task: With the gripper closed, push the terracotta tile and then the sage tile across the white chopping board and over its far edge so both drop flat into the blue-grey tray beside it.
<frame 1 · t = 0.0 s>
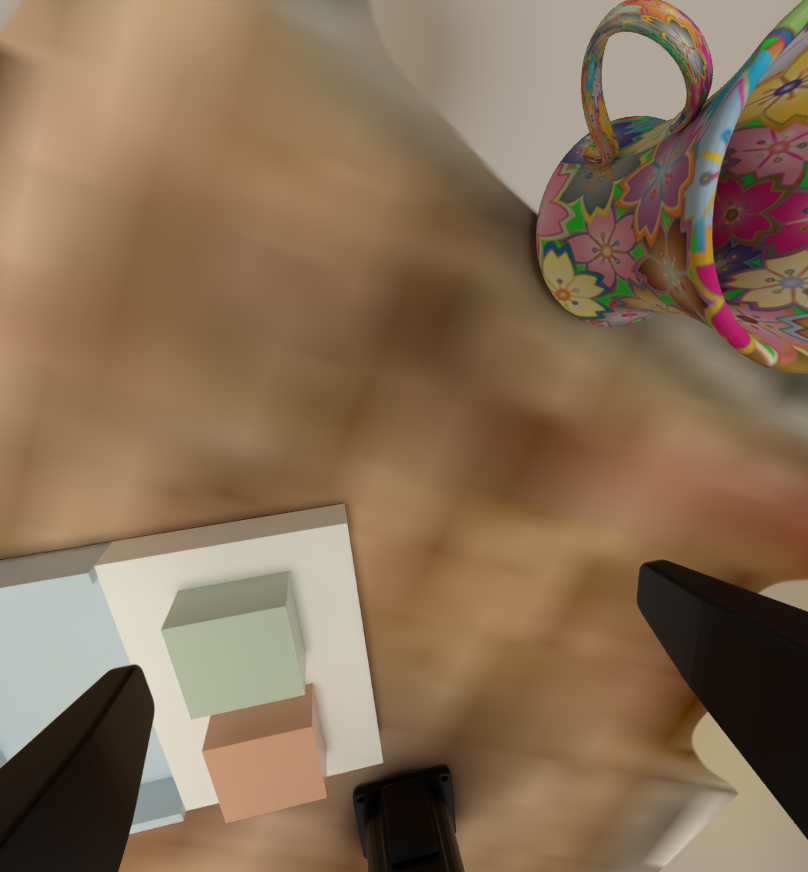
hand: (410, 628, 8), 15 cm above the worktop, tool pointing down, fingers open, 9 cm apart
mug: (591, 212, 21), on the worktop
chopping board: (263, 649, 25), on the worktop
sage tile: (245, 623, 22), point 2 cm above the worktop, touching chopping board
terracotta tile: (272, 728, 25), point 2 cm above the worktop, touching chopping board
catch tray: (66, 689, 24), on the worktop
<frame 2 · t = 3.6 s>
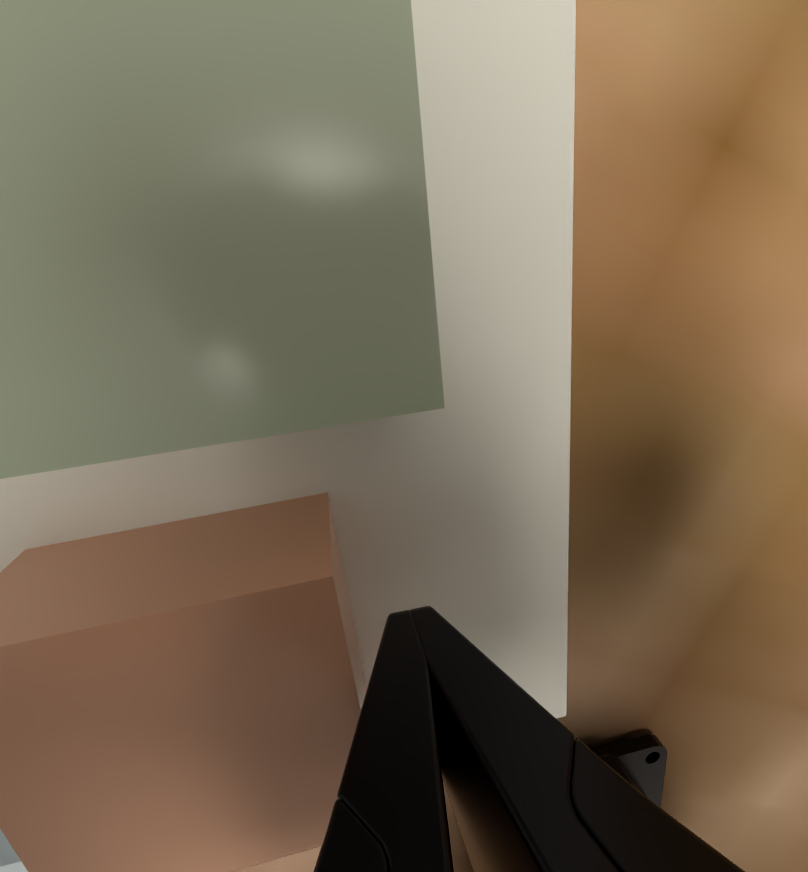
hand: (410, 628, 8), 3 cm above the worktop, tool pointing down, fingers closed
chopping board: (277, 416, 10), on the worktop
sage tile: (217, 223, 7), point 2 cm above the worktop, touching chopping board
terracotta tile: (219, 634, 9), point 2 cm above the worktop, touching gripper
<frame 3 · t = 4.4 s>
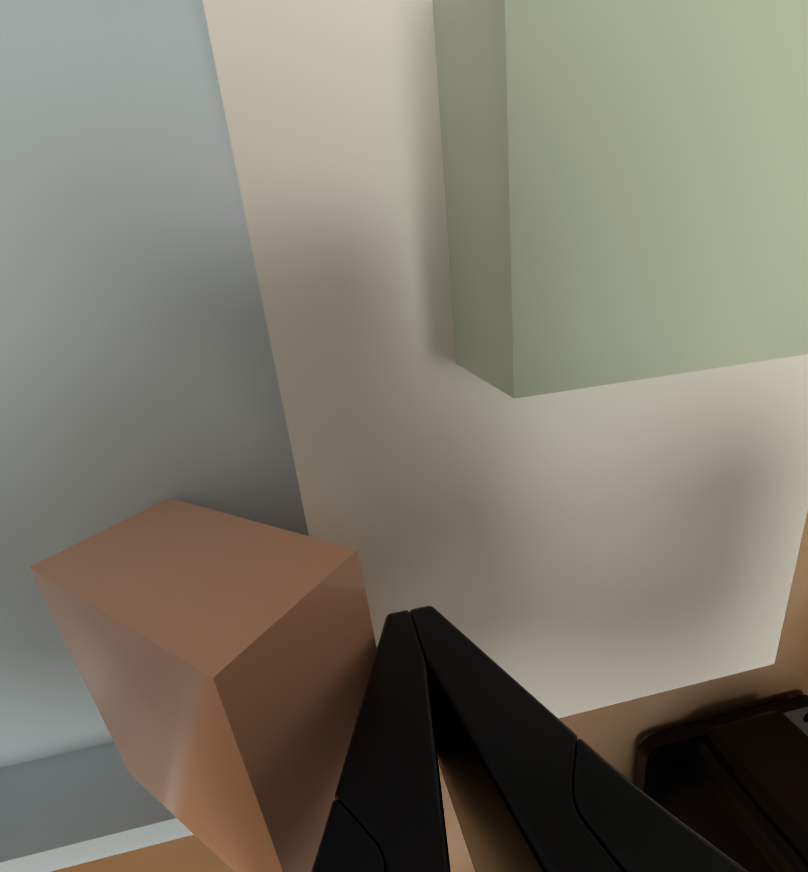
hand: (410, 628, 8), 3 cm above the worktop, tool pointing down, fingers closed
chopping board: (540, 377, 10), on the worktop
sage tile: (595, 189, 7), point 2 cm above the worktop, touching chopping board
terracotta tile: (278, 630, 9), point 2 cm above the worktop, tilted 43°, touching gripper
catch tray: (66, 447, 9), on the worktop
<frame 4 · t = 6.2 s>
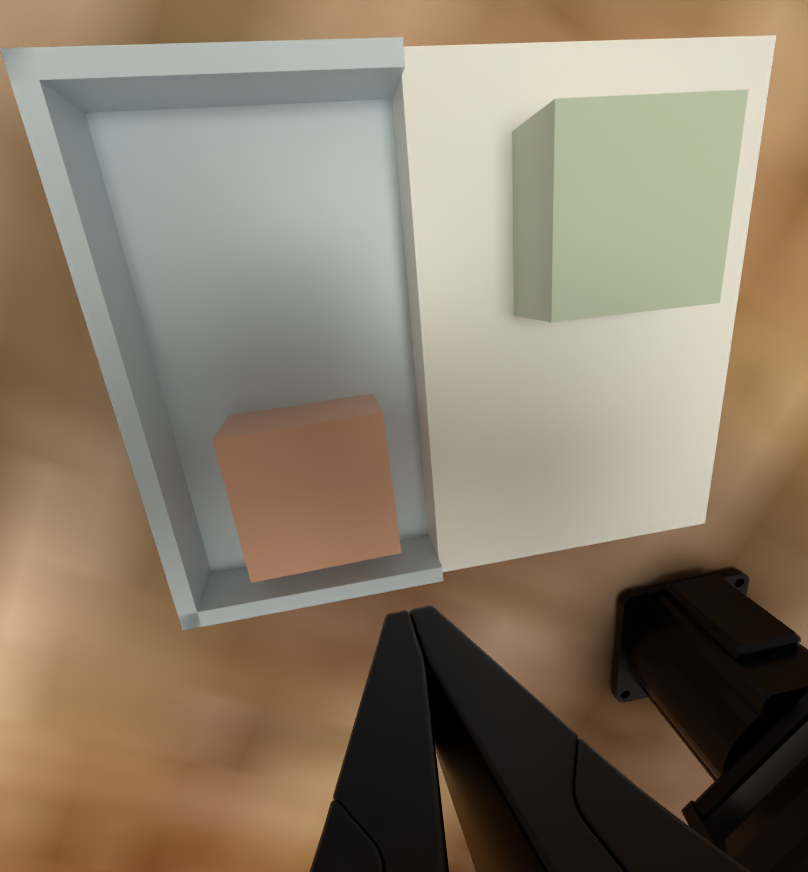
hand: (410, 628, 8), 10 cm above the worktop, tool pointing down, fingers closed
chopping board: (557, 332, 17), on the worktop
sage tile: (591, 222, 14), point 2 cm above the worktop, touching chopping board
terracotta tile: (315, 470, 17), resting on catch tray
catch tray: (282, 364, 16), on the worktop
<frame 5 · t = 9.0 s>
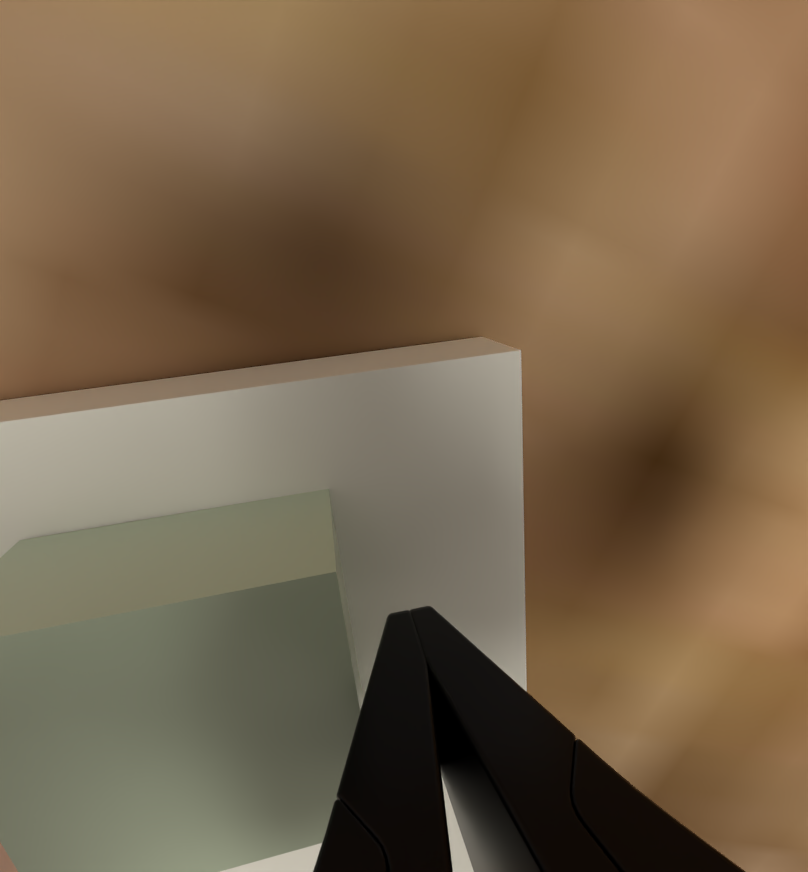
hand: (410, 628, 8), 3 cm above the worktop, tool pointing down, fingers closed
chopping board: (291, 677, 12), on the worktop
sage tile: (215, 630, 9), point 2 cm above the worktop, touching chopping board, gripper
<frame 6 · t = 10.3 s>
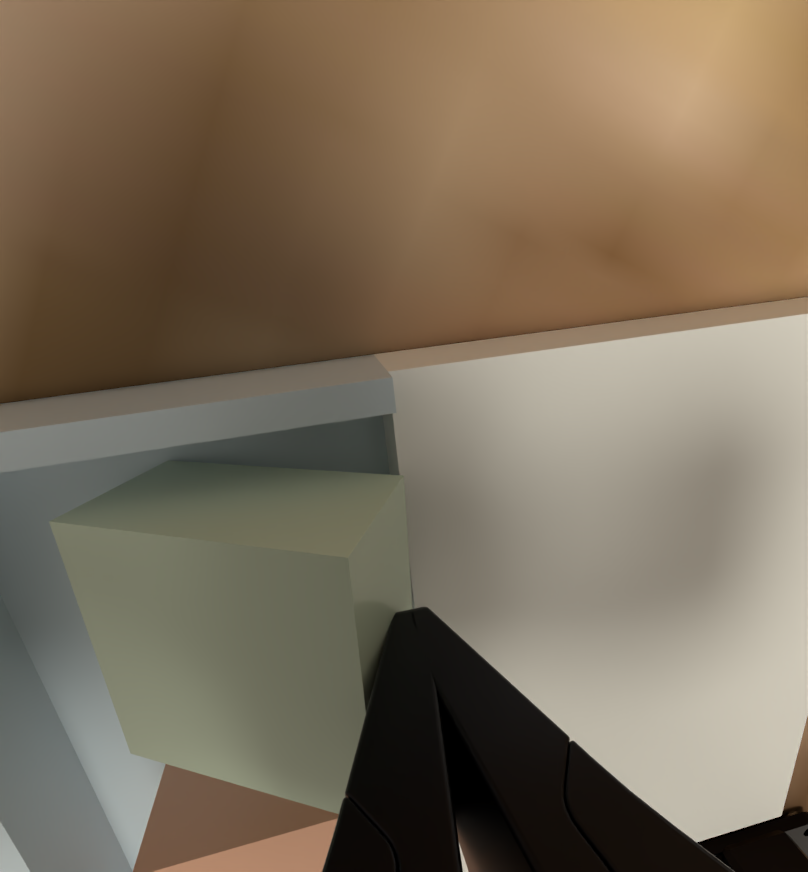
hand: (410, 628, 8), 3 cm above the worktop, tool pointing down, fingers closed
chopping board: (597, 607, 13), on the worktop
sage tile: (294, 579, 10), point 1 cm above the worktop, tilted 27°, touching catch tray, gripper
terracotta tile: (286, 797, 13), resting on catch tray
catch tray: (238, 688, 12), on the worktop
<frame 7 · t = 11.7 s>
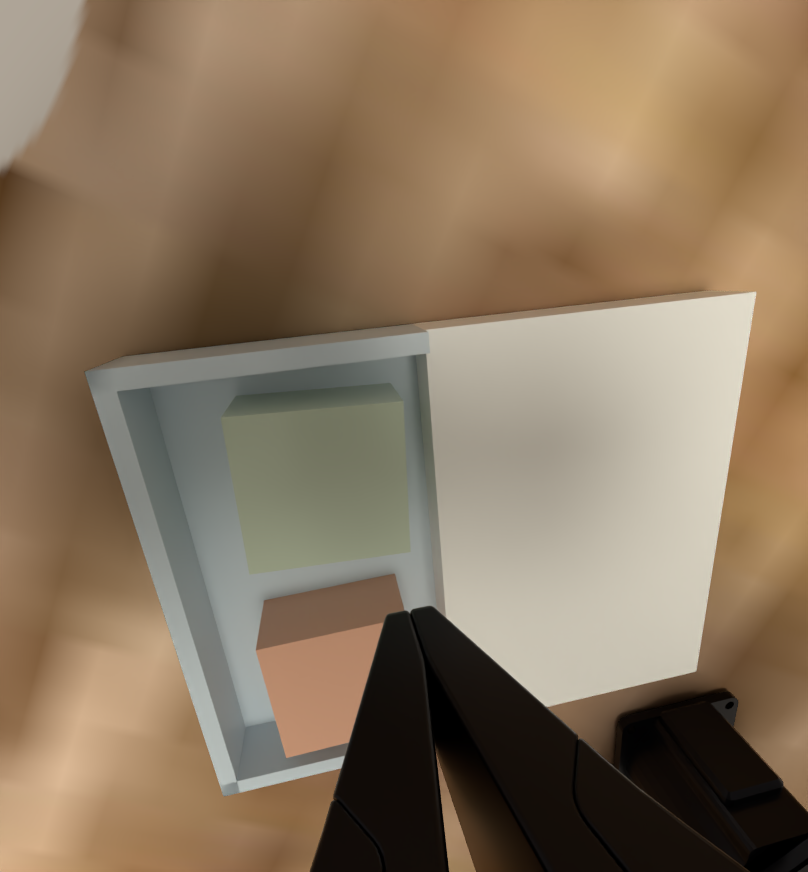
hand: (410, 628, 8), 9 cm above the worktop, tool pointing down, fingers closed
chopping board: (561, 509, 19), on the worktop
sage tile: (322, 459, 16), resting on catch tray
terracotta tile: (340, 638, 18), resting on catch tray
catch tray: (312, 553, 17), on the worktop
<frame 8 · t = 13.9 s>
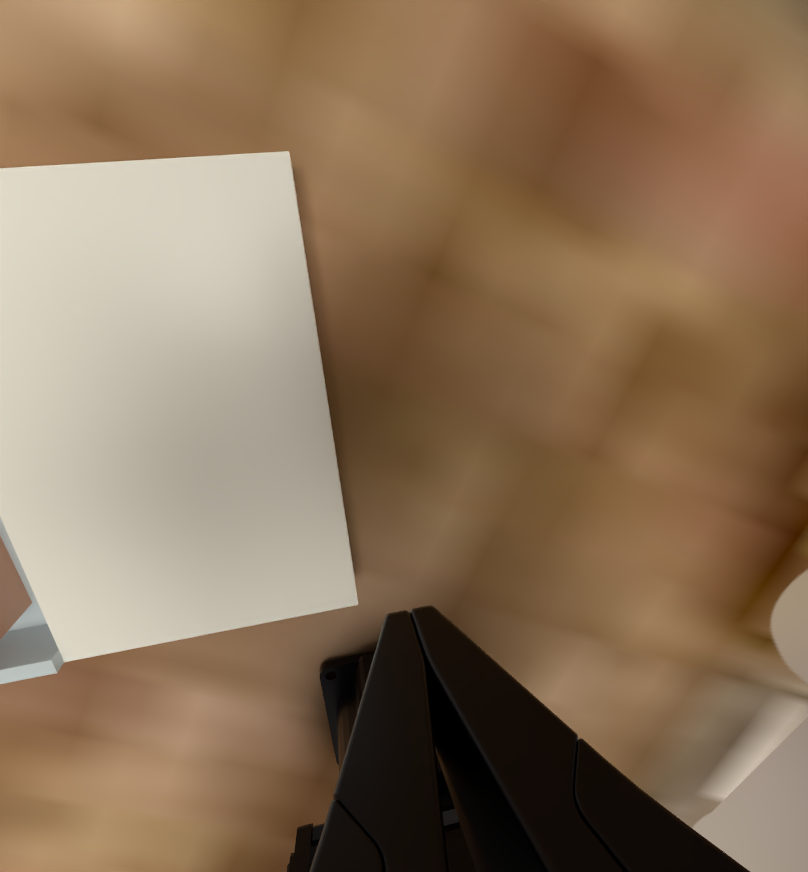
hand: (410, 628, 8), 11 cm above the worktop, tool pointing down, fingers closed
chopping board: (178, 421, 17), on the worktop
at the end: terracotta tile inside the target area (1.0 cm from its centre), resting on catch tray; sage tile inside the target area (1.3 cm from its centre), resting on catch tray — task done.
